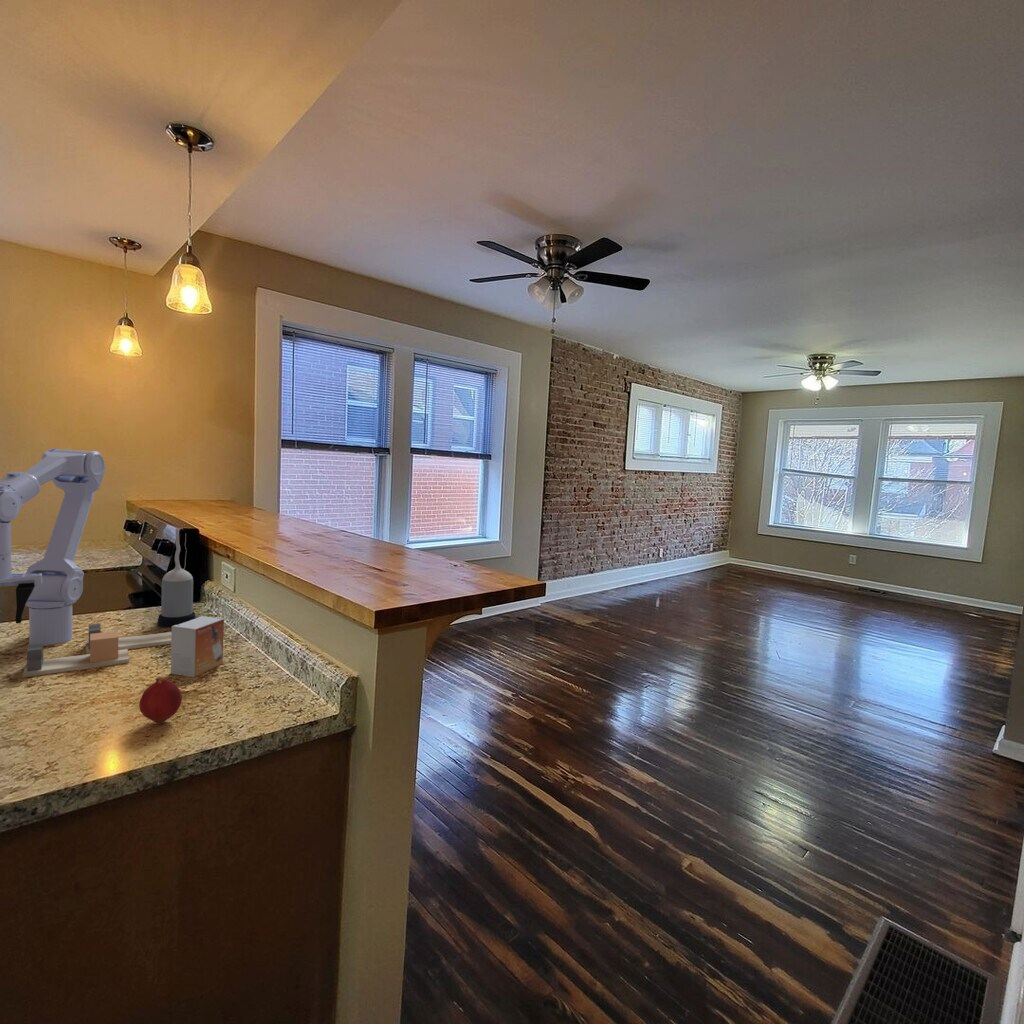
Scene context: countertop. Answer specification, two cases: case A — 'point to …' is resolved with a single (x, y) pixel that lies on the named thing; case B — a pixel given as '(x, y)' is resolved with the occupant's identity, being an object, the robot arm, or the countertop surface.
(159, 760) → the countertop surface
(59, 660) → the near strip
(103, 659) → the block
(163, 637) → the far strip
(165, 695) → the onion
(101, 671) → the countertop surface
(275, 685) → the countertop surface
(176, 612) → the humidifier
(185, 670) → the small box
